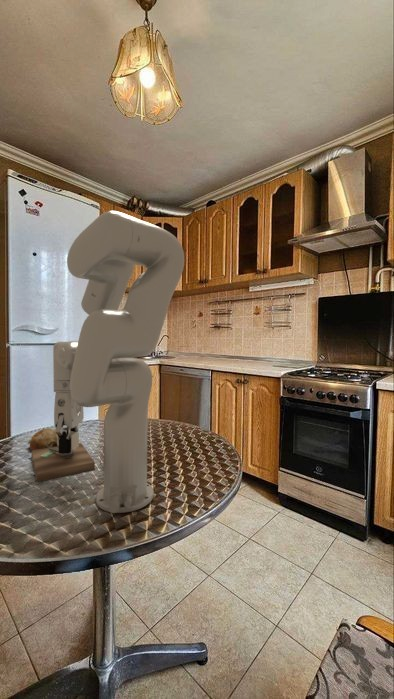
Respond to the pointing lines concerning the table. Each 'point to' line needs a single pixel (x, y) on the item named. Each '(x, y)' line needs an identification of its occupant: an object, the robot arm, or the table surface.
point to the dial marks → (49, 453)
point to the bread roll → (43, 439)
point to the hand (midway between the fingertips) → (68, 448)
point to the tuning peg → (74, 444)
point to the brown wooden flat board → (61, 463)
